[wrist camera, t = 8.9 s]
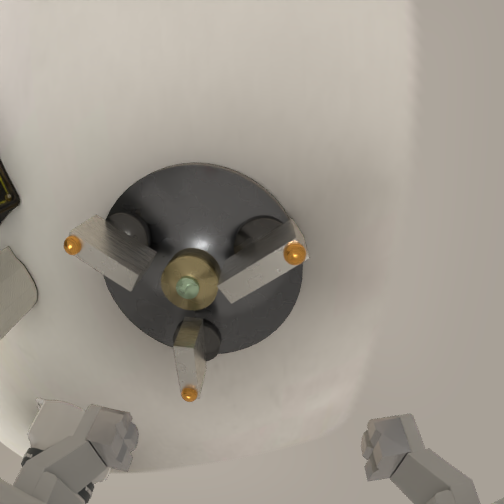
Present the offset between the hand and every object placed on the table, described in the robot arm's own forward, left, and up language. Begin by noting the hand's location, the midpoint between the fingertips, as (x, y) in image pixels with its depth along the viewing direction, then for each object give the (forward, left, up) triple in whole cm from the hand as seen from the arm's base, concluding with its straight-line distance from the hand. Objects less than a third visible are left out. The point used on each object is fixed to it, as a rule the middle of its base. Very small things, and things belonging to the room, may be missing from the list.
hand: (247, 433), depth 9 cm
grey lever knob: (0, 0, -17) cm, 17 cm away
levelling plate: (-5, +3, -19) cm, 20 cm away
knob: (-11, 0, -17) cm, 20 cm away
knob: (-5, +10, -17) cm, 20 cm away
